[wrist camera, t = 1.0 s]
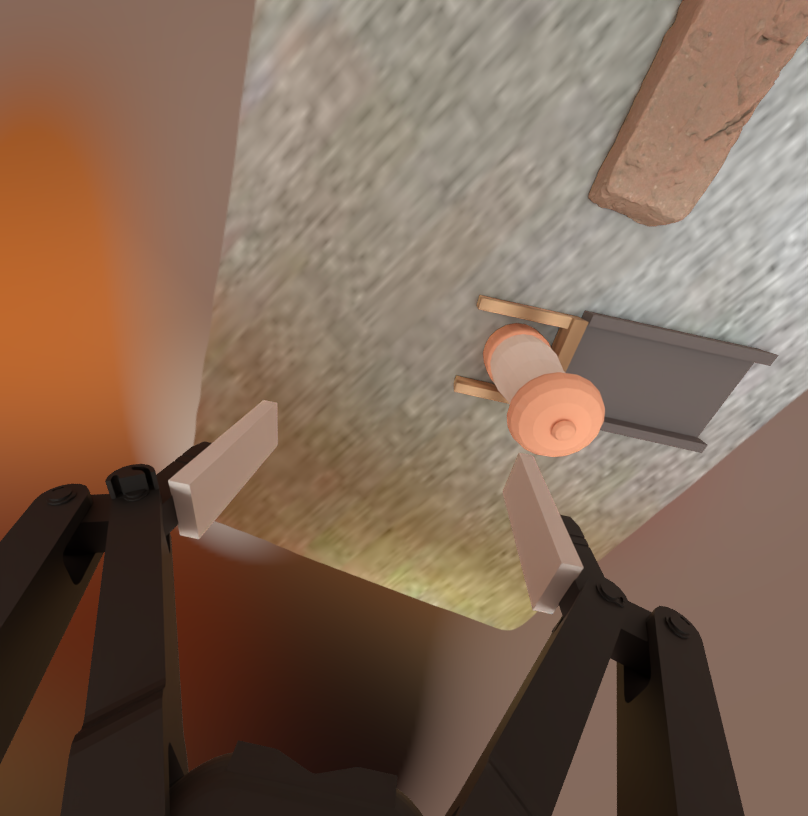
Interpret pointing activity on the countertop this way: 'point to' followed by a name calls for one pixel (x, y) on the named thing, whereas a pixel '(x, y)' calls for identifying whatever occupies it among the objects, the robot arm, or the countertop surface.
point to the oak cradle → (568, 324)
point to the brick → (696, 104)
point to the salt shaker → (542, 393)
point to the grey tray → (659, 378)
